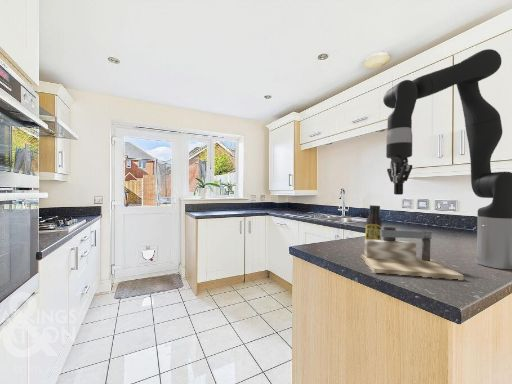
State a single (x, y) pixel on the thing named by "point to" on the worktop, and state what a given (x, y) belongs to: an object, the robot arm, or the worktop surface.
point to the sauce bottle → (373, 224)
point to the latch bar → (406, 234)
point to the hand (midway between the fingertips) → (398, 194)
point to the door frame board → (412, 268)
